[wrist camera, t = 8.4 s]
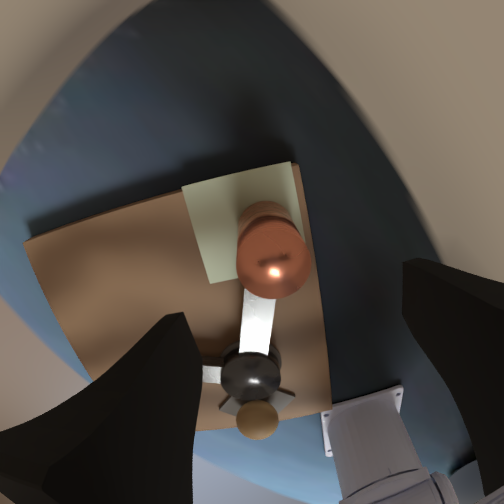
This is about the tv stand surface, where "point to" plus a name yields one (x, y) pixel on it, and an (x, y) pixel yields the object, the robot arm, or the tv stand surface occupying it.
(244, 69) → the tv stand surface
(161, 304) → the light wood flat board
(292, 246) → the lever
